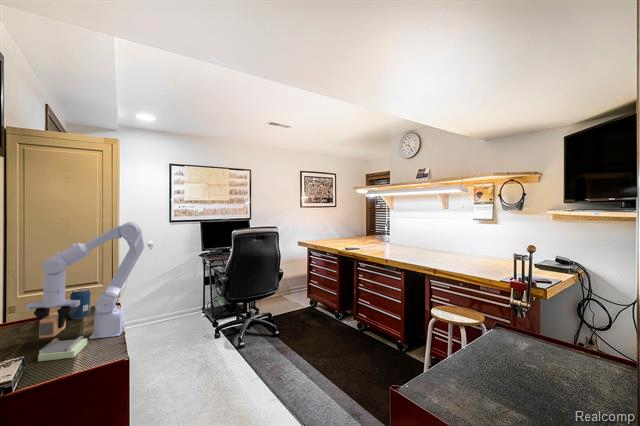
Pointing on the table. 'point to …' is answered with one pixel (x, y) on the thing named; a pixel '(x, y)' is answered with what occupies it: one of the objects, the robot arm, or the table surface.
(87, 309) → the soda can
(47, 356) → the green rimmed tray
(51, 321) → the tan tapered column
